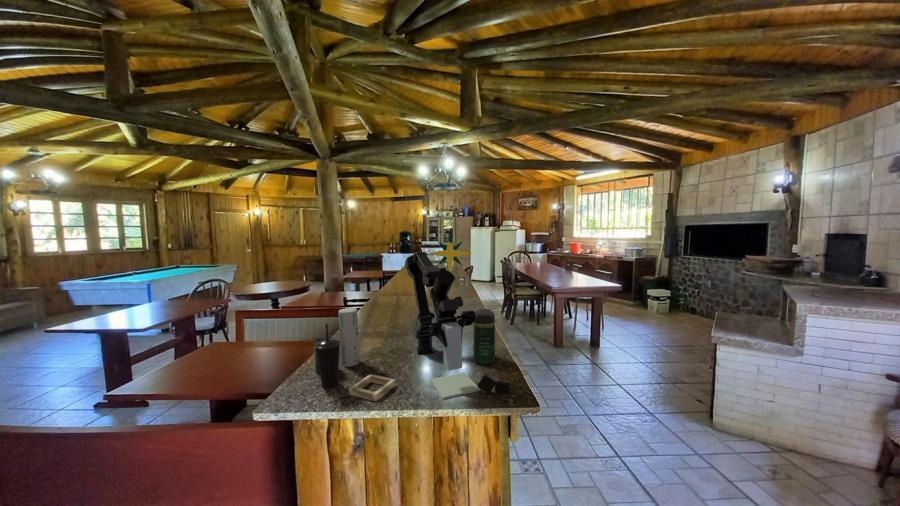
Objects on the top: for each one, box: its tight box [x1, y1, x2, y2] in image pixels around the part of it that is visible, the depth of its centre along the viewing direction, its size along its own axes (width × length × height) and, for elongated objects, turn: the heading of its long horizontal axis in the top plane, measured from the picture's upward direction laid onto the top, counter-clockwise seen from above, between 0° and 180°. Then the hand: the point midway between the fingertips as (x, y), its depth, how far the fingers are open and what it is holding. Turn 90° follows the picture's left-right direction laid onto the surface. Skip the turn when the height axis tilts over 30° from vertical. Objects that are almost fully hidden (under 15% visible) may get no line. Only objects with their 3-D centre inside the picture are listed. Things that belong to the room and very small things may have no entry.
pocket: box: [348, 373, 397, 402], centre depth 102 cm, size 10×10×2 cm
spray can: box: [338, 307, 360, 368], centre depth 121 cm, size 6×6×20 cm
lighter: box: [476, 372, 511, 395], centre depth 99 cm, size 9×2×6 cm
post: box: [442, 323, 463, 371], centre depth 102 cm, size 4×4×13 cm
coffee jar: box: [472, 308, 496, 366], centre depth 121 cm, size 10×8×19 cm
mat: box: [429, 372, 481, 400], centre depth 103 cm, size 12×12×1 cm
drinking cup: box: [314, 323, 341, 390], centre depth 105 cm, size 8×8×20 cm
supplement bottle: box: [313, 334, 332, 374], centre depth 116 cm, size 7×7×12 cm
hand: (453, 345), depth 100 cm, fingers closed on post, 4 cm apart
